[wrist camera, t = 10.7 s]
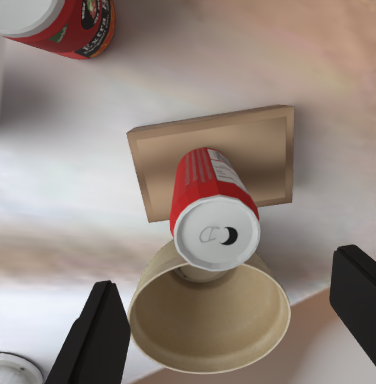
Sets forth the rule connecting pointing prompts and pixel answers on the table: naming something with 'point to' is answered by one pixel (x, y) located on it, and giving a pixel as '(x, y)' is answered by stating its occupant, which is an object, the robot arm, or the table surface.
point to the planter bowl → (207, 314)
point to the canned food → (60, 25)
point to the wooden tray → (227, 145)
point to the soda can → (212, 213)
